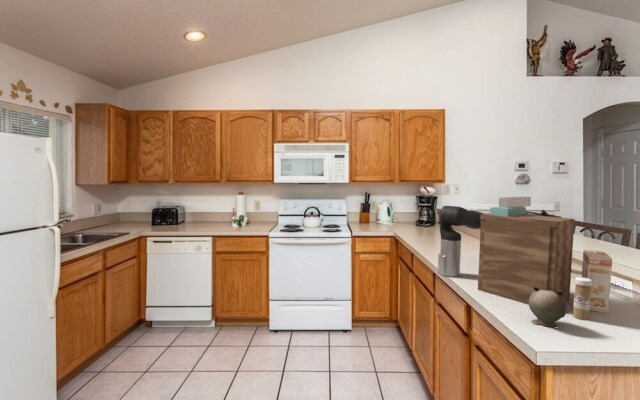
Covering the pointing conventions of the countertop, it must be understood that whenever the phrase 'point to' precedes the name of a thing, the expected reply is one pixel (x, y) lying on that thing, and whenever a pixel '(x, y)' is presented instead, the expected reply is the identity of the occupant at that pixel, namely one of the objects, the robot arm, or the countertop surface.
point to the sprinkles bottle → (582, 298)
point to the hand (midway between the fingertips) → (531, 210)
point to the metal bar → (514, 202)
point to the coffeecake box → (598, 278)
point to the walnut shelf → (525, 255)
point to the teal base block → (507, 211)
